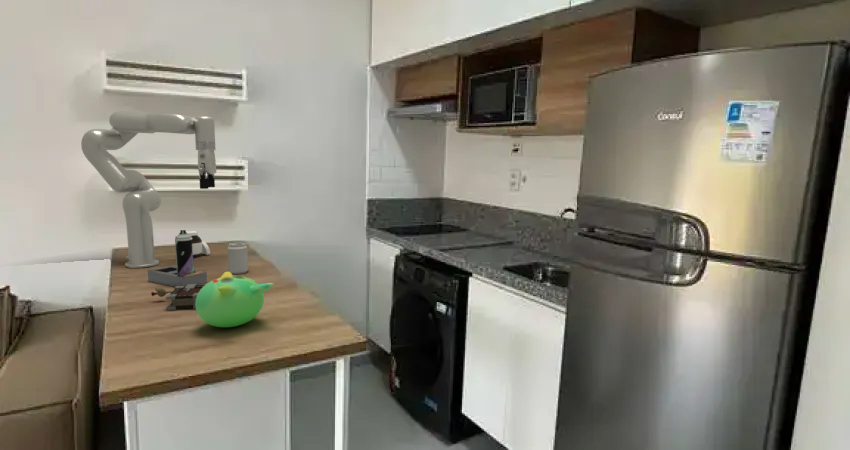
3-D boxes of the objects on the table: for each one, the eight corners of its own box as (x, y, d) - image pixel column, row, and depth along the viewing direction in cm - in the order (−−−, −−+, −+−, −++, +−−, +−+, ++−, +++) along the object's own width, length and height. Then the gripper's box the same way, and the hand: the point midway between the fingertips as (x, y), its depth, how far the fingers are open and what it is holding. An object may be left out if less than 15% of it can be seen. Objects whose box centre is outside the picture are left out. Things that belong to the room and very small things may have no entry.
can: (251, 270, 203) (250, 241, 201) (243, 274, 195) (241, 245, 194) (234, 270, 204) (232, 241, 202) (224, 274, 196) (223, 244, 195)
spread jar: (175, 257, 227) (174, 232, 225) (193, 253, 238) (192, 229, 236) (197, 259, 223) (195, 234, 222) (214, 254, 234) (213, 230, 232)
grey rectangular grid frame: (148, 281, 184) (147, 270, 184) (173, 275, 193) (172, 265, 192) (182, 288, 175) (181, 276, 174) (207, 282, 183) (206, 271, 183)
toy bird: (245, 311, 150) (243, 264, 148) (278, 323, 140) (276, 273, 138) (186, 326, 136) (183, 275, 134) (217, 341, 126) (214, 285, 124)
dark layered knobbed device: (229, 308, 154) (228, 292, 153) (141, 313, 148) (140, 297, 148) (235, 295, 168) (235, 281, 168) (155, 299, 162) (154, 284, 162)
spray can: (182, 286, 178) (179, 231, 175) (175, 283, 181) (171, 230, 178) (197, 283, 182) (194, 229, 179) (189, 280, 185) (186, 228, 182)
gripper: (209, 146, 197) (211, 189, 199) (220, 147, 213) (222, 186, 216) (189, 146, 195) (191, 189, 198) (202, 146, 212) (204, 186, 215)
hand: (207, 187), depth 207 cm, fingers open, 9 cm apart
